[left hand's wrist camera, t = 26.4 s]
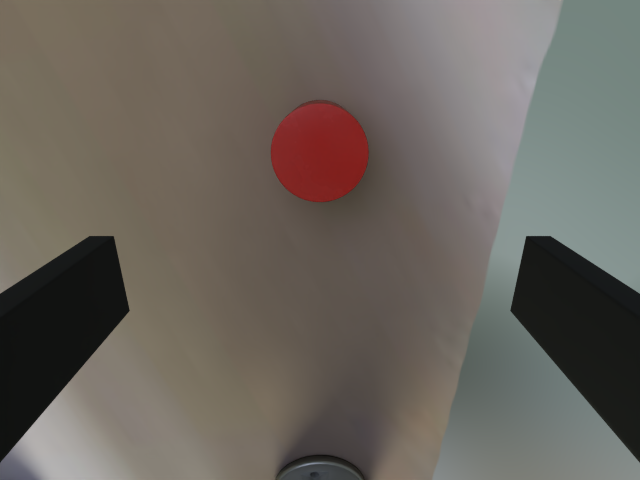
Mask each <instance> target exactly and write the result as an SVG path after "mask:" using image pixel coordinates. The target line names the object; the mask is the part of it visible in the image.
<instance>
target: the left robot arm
mask: <svg viewBox="0 0 640 480" xmlns="http://www.w3.org/2000/svg"><path fill="white" fill-rule="evenodd" d="M129 311H130V310H129V306H128V301H127V296H126V292H125V287H124V282H123V278H122V273H121V268H120V264H119V259H118V254H117V250H116V245H115V240H114V236H89V237H88V238H86V239H84V240H83V241H81V242H80V243H78V244H77V245H75V246H74V247H72V248H70V249H69V250H67V251H66V252H64V253H63V254H61V255H60V256H58V257H57V258H55V259H53V260H52V261H50V262H49V263H47V264H46V265H44V266H43V267H41V268H39V269H38V270H36V271H35V272H33V273H32V274H30V275H29V276H27V277H26V278H24V279H22V280H21V281H19V282H18V283H16V284H15V285H13V286H12V287H10V288H8V289H7V290H5V291H4V292H2V293H1V294H0V462H1V461H2V460H3V459H4V457H5V456H6V455H7V454H8V453H9V452H10V450H11V449H12V448H13V447H14V446H15V445H16V443H17V442H18V441H19V440H20V439H21V437H22V436H23V435H24V434H25V433H26V432H27V430H28V429H29V428H30V427H31V426H32V425H33V423H34V422H35V421H36V420H37V419H38V418H39V416H40V415H41V414H42V413H43V412H44V411H45V409H46V408H47V407H48V406H49V405H50V404H51V402H52V401H53V400H54V399H55V398H56V396H57V395H58V394H59V393H60V392H61V391H62V389H63V388H64V387H65V386H66V385H67V384H68V382H69V381H70V380H71V379H72V378H73V377H74V375H75V374H76V373H77V372H78V371H79V370H80V368H81V367H82V366H83V365H84V364H85V362H86V361H87V360H88V359H89V358H90V357H91V355H92V354H93V353H94V352H95V351H96V350H97V348H98V347H99V346H100V345H101V344H102V343H103V341H104V340H105V339H106V338H107V337H108V336H109V334H110V333H111V332H112V331H113V330H114V328H115V327H116V326H117V325H118V324H119V323H120V321H121V320H122V319H123V318H124V317H125V316H126V314H127V313H128V312H129ZM511 312H512V313H513V314H514V316H515V317H516V318H517V319H518V320H519V321H520V323H521V324H522V325H523V326H524V327H525V328H526V330H527V331H528V332H529V333H530V334H531V336H532V337H533V338H534V339H535V340H536V341H537V343H538V344H539V345H540V346H541V347H542V348H543V350H544V351H545V352H546V353H547V354H548V355H549V357H550V358H551V359H552V360H553V361H554V362H555V364H556V365H557V366H558V367H559V368H560V370H561V371H562V372H563V373H564V374H565V375H566V377H567V378H568V379H569V380H570V381H571V382H572V384H573V385H574V386H575V387H576V388H577V389H578V391H579V392H580V393H581V394H582V395H583V396H584V398H585V399H586V400H587V401H588V402H589V404H590V405H591V406H592V407H593V408H594V409H595V410H596V412H597V413H598V414H599V415H600V416H601V417H602V419H603V420H604V421H605V422H606V423H607V425H608V426H609V427H610V428H611V429H612V430H613V432H614V433H615V434H616V435H617V436H618V437H619V439H620V440H621V441H622V442H623V443H624V445H625V446H626V447H627V448H628V449H629V450H630V452H631V453H632V454H633V455H634V456H635V457H636V459H637V460H638V461H639V462H640V294H639V293H638V292H636V291H635V290H633V289H632V288H630V287H628V286H627V285H625V284H624V283H622V282H621V281H619V280H618V279H616V278H614V277H613V276H611V275H610V274H608V273H607V272H605V271H604V270H602V269H601V268H599V267H597V266H596V265H594V264H593V263H591V262H590V261H588V260H587V259H585V258H583V257H582V256H580V255H579V254H577V253H576V252H574V251H573V250H571V249H570V248H568V247H566V246H565V245H563V244H562V243H560V242H559V241H557V240H556V239H554V238H552V237H551V236H526V240H525V245H524V250H523V254H522V259H521V264H520V268H519V273H518V278H517V282H516V287H515V292H514V296H513V301H512V306H511ZM276 480H364V477H363V475H362V474H361V473H360V471H359V470H358V469H357V468H356V467H354V466H353V465H352V464H350V463H348V462H346V461H344V460H342V459H339V458H335V457H330V456H309V457H305V458H301V459H298V460H296V461H294V462H292V463H290V464H288V465H287V466H286V467H284V468H283V469H282V470H281V471H280V473H279V474H278V476H277V477H276Z"/></svg>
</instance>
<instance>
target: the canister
mask: <svg viewBox="0 0 640 480" xmlns="http://www.w3.org/2000/svg"><path fill="white" fill-rule="evenodd" d="M368 153H369V151H368V143H367V138H366V136H365V133H364V131H363V129H362V127H361V126H360V124H359V123H358V121H357V120H356V119H355V118H354V117H353V116H352V115H351V114H350V113H348V112H347V111H346V110H345V109H344V108H343V107H341V106H339V105H338V104H336V103H333V102H330V101H326V100H314V101H309V102H306V103H304V104H302V105H300V106H299V107H297V108H296V109H295V110H293V111H292V112H291V113H290V114H289V115H288V116H286V117H285V119H284V120H283V121H282V122H281V123H280V125H279V126H278V128H277V130H276V132H275V134H274V137H273V140H272V145H271V160H272V165H273V168H274V171H275V173H276V175H277V177H278V179H279V181H280V182H281V183H282V184H283V186H284V187H285V188H286V189H287V190H288V191H290V192H291V193H292V194H294V195H296V196H297V197H299V198H302V199H304V200H308V201H313V202H327V201H332V200H335V199H338V198H340V197H342V196H344V195H346V194H347V193H349V192H350V191H351V190H352V189H353V188H354V187H355V186H356V185H357V184H358V183H359V181H360V180H361V178H362V177H363V174H364V172H365V170H366V167H367V163H368Z"/></svg>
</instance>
